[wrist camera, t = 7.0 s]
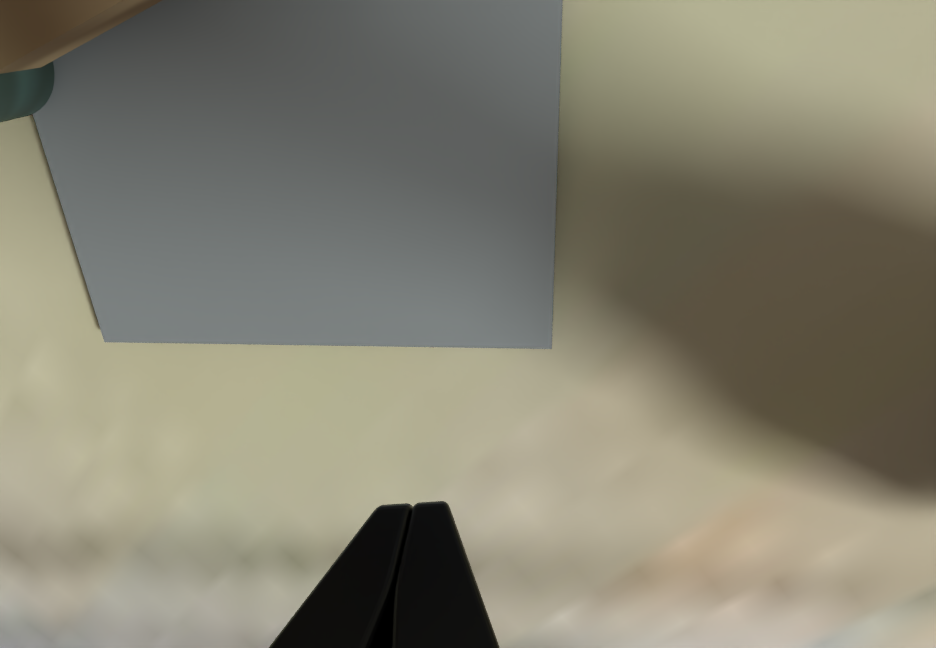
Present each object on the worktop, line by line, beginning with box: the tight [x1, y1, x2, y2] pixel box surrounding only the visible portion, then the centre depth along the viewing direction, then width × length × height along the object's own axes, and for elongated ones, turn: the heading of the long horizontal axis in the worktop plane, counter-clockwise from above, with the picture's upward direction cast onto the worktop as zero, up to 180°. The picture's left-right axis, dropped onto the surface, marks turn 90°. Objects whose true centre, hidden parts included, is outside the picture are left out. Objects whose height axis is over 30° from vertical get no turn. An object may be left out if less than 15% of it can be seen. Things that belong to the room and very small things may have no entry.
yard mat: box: [33, 0, 562, 349], centre depth 18 cm, size 14×14×1 cm
